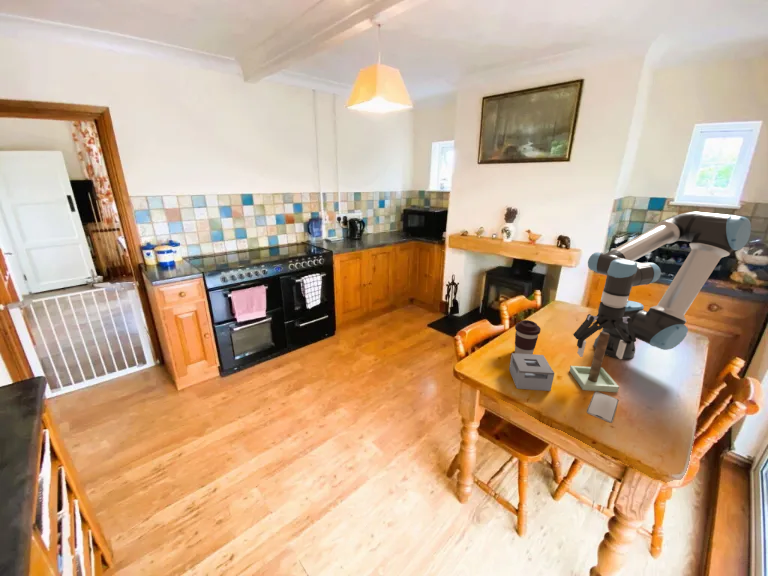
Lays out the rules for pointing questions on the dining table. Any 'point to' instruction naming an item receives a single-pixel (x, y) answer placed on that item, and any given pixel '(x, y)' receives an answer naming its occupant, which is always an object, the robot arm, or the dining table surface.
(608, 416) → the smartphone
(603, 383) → the tray
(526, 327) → the coffee cup
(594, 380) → the brown wooden bar
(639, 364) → the dining table surface
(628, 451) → the dining table surface
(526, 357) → the grey slotted box
